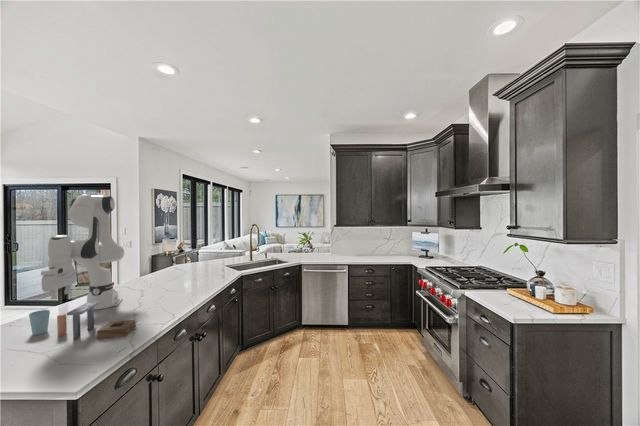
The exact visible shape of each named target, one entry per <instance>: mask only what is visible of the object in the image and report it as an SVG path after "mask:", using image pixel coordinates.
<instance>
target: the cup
mask: <svg viewBox="0 0 640 426" xmlns="http://www.w3.org/2000/svg"><path fill="white" fill-rule="evenodd" d="M50 313H51V310H50V309H43V310H42V309H40V310H37V311H32V312H30V313H29V314H28V318H29V322H30V328H31V332H32V335H33V336H39V335H43V334H46V333H47V332H48V329H49V321H50Z"/></svg>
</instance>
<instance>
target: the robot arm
mask: <svg viewBox="0 0 640 426" xmlns="http://www.w3.org/2000/svg"><path fill="white" fill-rule="evenodd" d="M115 204H116V203H115V200H114V198H113V197H112V196H111V195H105V194H104V195H101V194H98V195H97V194H96V195H94V194H92V195H90V194H87V193H86V194H84V193H83V194H80V195H78V196H74V197H73V198H72V199H71V201H70V209H69V212H68V218H69V220H70V222H71V223H72V224H74V225H75V226H78V227H82V228H86V229H87V230H88V237H87V238H86V239H81V240H80V239H79V240H72V239H71V237H70V235H67V234H58V235H54V236H53V235H52V236H51V237H50V238H49V239H48V243H47V244H48V245H47V256H48V262H47V263H48V264H47V266H46V267H45V268H43V270H41V271H40V275H41V276H42V277H41V290H42V292H44V293H49V295H50V296H51V297H50V298H51V300H57V299H58V297H59V295H58V294H57V290H59V289H61V288H64V287H65V289H64V295H68V294H70V293H71V288H72V285H73V284H75V283H76V282H77V280H78V279H77V278H78V277H77V271H76V269H75V267H74V266H73V260H74V261H75V262H76V263H77V264H79V265H81V266H82V267H83V268H84V269H85V270H87V271H86V272H87V273H88V276H89V277H88V278H89V288H88V290H89V291H88V294H87V295H86V303H95V302H98V305H97V306H95V307H94V311H95V310H102V309H103V310H104V309H107V308H111V307H115V306H119V304H120V303H121V302H122V301H123V297H119V292H118V290H117V289H115V288H114V285H115V282H114V281H113V282H112V272H111V270H109V269H108V268H105V267H102V266H101V265H100V264H101V263H102V264H103V263H113V262H117V261H121V260H122V259H123V258H124V257H125V250H124V248H123V246H121V245H120V244H118V243H116V241H115V240H114V239H113V236H112V234H111V220H110V219H111V217H110V213H111V212H112V211H114V209H115V206H116V205H115ZM100 244H101V245H100Z"/></svg>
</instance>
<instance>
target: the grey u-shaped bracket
mask: <svg viewBox="0 0 640 426" xmlns="http://www.w3.org/2000/svg"><path fill="white" fill-rule="evenodd" d="M97 305H98V302H95V303H87V302H85V303H82V304H81V305H79V306H77V307H75V308H74V309H72V310H70V311H68V312H66V316H72V339H73V341H75V340H76V341H78V340H79V339H81V336H82V335H81V315H83V314H85V313H87V314H86V317H87V319H86V321H87V323H86V324H87V331H91V330H93V329H95V319H94V318H95V310H94V307H95V306H97Z"/></svg>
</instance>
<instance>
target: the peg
mask: <svg viewBox="0 0 640 426" xmlns="http://www.w3.org/2000/svg"><path fill="white" fill-rule="evenodd" d="M56 321H57V323H56V324H57V328H56V330H57V337H64V336H66V335H67V334H68V330H67V328H68V327H67V325H68V324H67V313H61V314H58V315H56Z"/></svg>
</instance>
